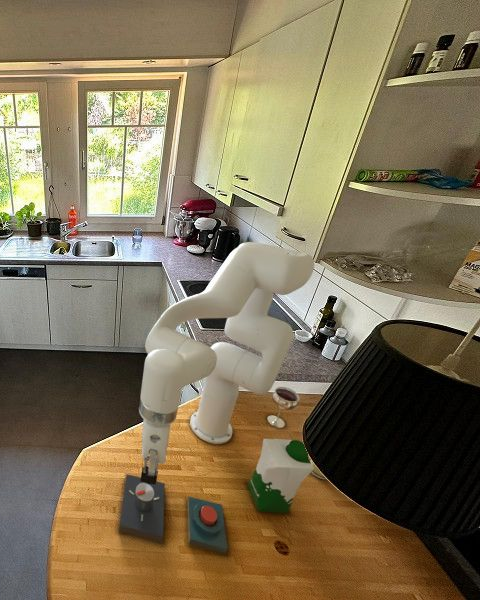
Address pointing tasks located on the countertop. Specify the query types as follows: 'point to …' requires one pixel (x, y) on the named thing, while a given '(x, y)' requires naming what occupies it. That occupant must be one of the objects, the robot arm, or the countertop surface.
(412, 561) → the countertop surface
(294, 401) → the wineglass
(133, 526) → the plate
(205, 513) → the button
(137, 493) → the rotary knob
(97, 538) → the countertop surface
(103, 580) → the countertop surface
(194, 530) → the teal button housing
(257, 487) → the milk carton
